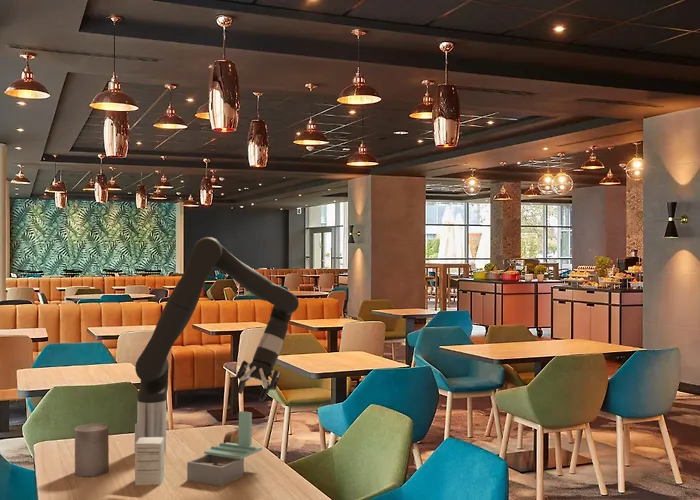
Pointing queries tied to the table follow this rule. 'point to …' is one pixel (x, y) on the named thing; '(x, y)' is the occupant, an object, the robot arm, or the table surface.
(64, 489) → the table surface
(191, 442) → the table surface
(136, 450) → the supplement box
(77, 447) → the pillar candle
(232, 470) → the tub
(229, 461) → the walnut block
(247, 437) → the lid
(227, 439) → the tin
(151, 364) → the robot arm
